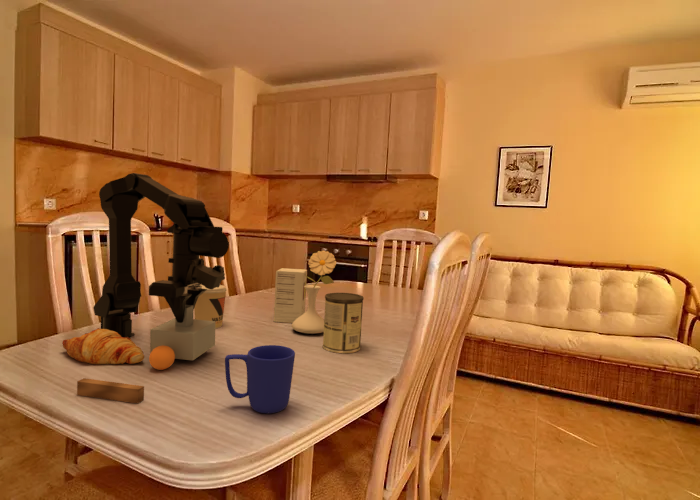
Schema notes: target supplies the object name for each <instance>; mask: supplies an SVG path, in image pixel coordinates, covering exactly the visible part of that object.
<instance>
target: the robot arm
mask: <svg viewBox="0 0 700 500" xmlns="http://www.w3.org/2000/svg"><path fill="white" fill-rule="evenodd" d="M98 193H99V195H98V196H99V202H100V208H101V210H102V212H104V214H105V216H106V217H107V218H108V244H109V245H108V248H109V250H108V251H109V254H108V255H109V256H108V257H109V276H108V278H107V279H106V280H105V282H104V283H103V286H102V290H101V292H102V293H101V296H100V298H99V299H98V300H97V302H96V303H95V304H94V306H93V313H94V316H97V317H100V329H108V330H111V331H115V332H117V333H118V334H119V335H120V336H121V337H124V338H130V337H132V336H134V335H135V332H133V330H132V329H133V327H132V326H133V319H132V318H131V316H132V313H137V311H138V307H139V305H140V301H141V298H142V293H141V287H142V283H141V282H140V281H139V280H138V281H136V278H135V277H134V276H133V271H132V270H133V269H132V268H133V264H132V262H133V261H132V219H133V217H134V215H135V213H136V212H137V211H138V208H139V207H138V206H139V202H140V201H142V200H143V199H145V198H146V199H147V200H149V201H151V202H152V203H154V204H156V205H157V206H159V207H161V209H163V213H164V215H165V216H166V217H167V218H168V219H169V220H170V221H171V222H172V223H173V224H172V225H171V226H170V227H169V228H168V229H167V231H166V232H167V233H168V234H172V235H173V238H172V239H173V240H172V244H173V245H172V257H169V258H168V262H167V263H168V264H169V263H170V264H172V265H171V266H172V271H171V275H169V276H168V275H167V280H164V279H162V280H158V281H157V280H156V281H153V282H151V284H150V285H148V296H153V297H161V298H162V297H163V298H164V299H165V301H166V303H167V304H168V306H169V308H170V310H171V312H172V314H173V316H174V318H176V320H177V322H178V323H182V322H183V319H184V313H185V306H186V305H193V311H194V307H195V305H196V302H197V299H198V297H199V296H200V295H201V294H202V293H204V292H205V291H206V290H207V289H202V286H200V285H203V286H205V287H206V288H208V289H214V288H216V287H217V288H218V287H219V286H220V285H221V283H222V281H225V279H226V277H225V275H226V274H225V267H223V266H222V265H219V264H217V265H214V266H213V267H212V266H206V265H205V260H204V258H203V257H208V258H214V259H220V258H223V257H224V256H225V255H226V254H227V253H228V251H229V246H230V241H229V239H228V237H227V235H226V234H225V233H224V232H223V226H215V225H214V223H213V221H212V219H211V216H210V215H209V212H208V211H207V209H206V204H205V203H204V202H203V201H202V200H200V199H196V198H195V197H194V198H193V197H189V196H185V195H181V194H179V193H176V192H175V191H173V190H171V189H170V188H168V187H167V186H165V185H163V184H162V183H160V182H158V181H156V180H154V179H153V178H152V177H151V176H149V174H144V173H143V174H142V173H136V172H132V173H128V174H127V175H125V176H123V177H120V178H117V179H113V180H110V181H109V182H107V183H105V184H104V185H103V186H102V187H101V188H100V189H99V192H98ZM201 256H202V257H201Z"/></svg>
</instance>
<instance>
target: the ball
mask: <svg viewBox="0 0 700 500" xmlns="http://www.w3.org/2000/svg"><path fill="white" fill-rule="evenodd" d="M148 357H149V358H148V361H149V363H150V364H149V365H151V367H152V368H154V369H155V370H158V371H159V370H161V371H162V370H166V369H169V368H170V367H171V366H172V365H173V364H174V362H175V359H176V358H175V353H174V351H173V349H172V348H170V347H168V346H164V345H163V346H158V347H156V348H155V349H153V350H152V352H151V353H150V352H149V356H148Z"/></svg>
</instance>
